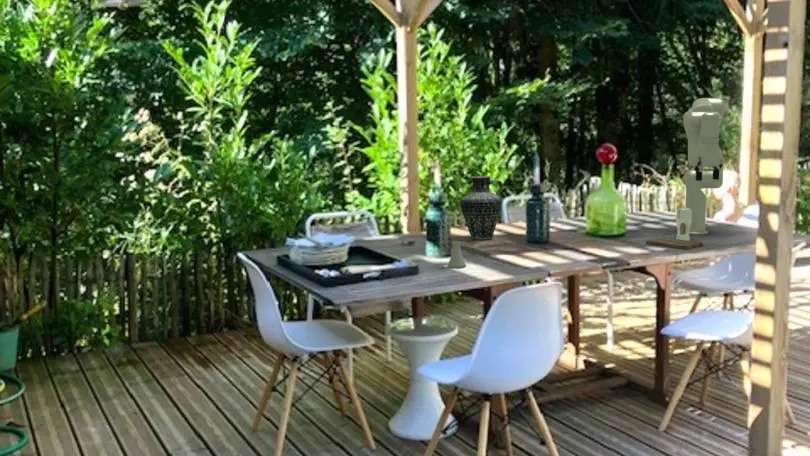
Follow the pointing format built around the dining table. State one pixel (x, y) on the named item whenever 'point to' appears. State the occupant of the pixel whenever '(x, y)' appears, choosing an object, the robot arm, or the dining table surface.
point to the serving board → (675, 243)
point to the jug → (482, 208)
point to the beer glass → (683, 223)
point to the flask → (456, 257)
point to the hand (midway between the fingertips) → (707, 180)
